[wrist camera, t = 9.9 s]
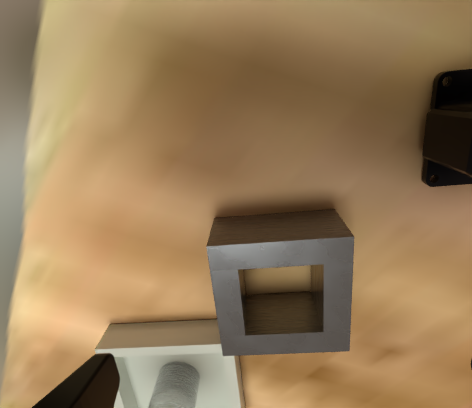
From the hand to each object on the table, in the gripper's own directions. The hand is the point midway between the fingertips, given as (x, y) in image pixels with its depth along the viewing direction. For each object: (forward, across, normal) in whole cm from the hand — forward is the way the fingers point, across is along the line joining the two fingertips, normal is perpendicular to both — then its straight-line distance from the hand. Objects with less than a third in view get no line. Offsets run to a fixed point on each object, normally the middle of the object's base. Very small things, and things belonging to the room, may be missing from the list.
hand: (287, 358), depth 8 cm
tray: (+13, +8, +15) cm, 21 cm away
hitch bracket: (+13, 0, +6) cm, 14 cm away
